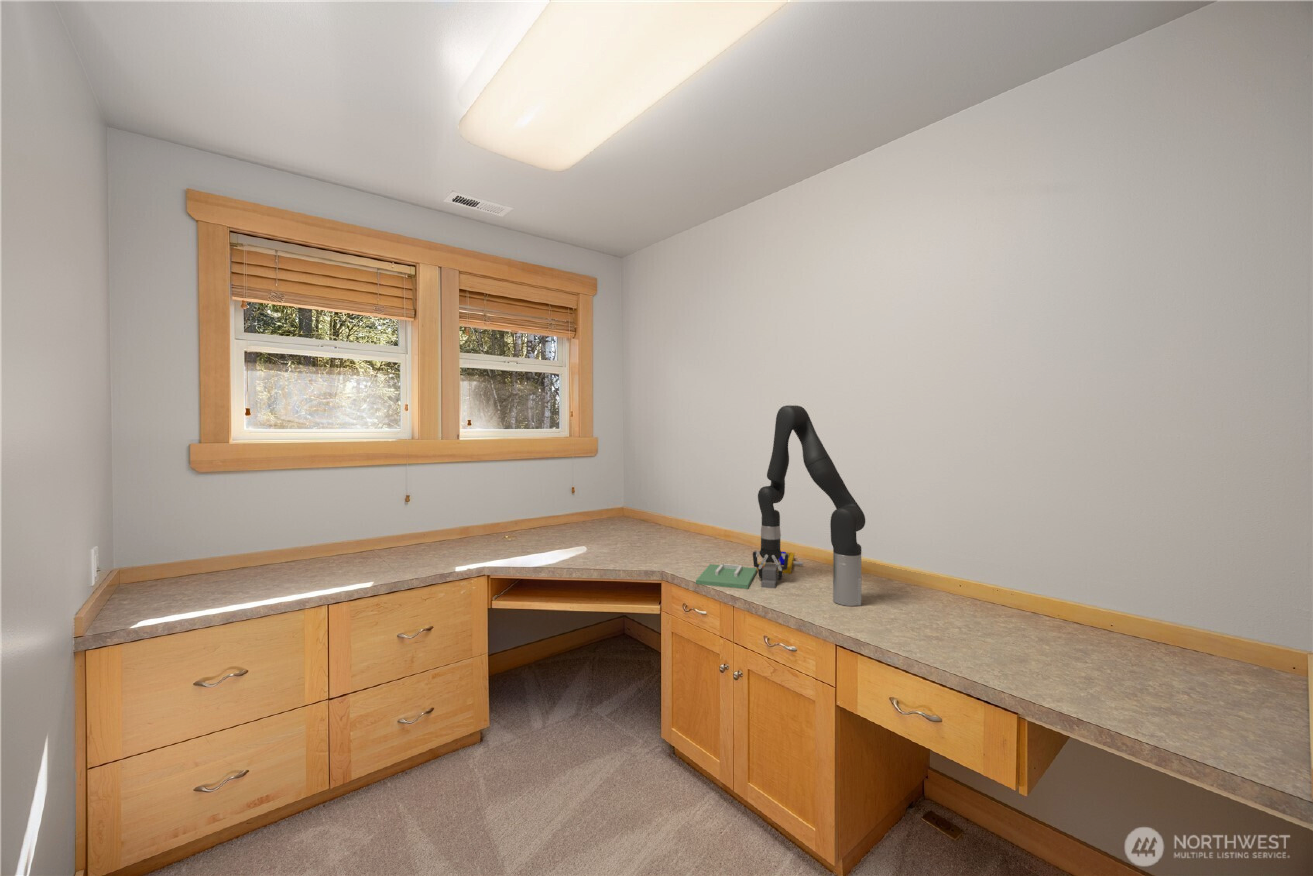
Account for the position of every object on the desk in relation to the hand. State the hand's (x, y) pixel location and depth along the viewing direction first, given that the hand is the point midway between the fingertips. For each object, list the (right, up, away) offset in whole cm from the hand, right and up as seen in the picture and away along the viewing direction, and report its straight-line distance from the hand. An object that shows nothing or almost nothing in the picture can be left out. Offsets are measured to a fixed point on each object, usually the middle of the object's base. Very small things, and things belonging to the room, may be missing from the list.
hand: (770, 578), depth 208 cm
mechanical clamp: (+9, -1, +23) cm, 24 cm away
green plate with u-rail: (-16, -1, +6) cm, 17 cm away
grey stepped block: (0, -1, -1) cm, 2 cm away
